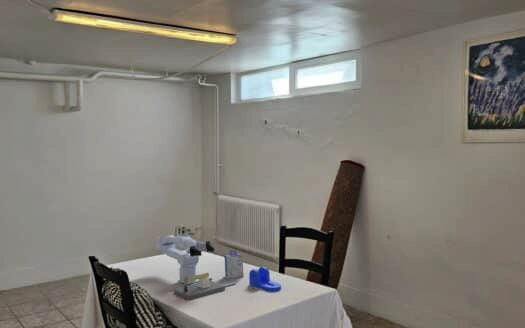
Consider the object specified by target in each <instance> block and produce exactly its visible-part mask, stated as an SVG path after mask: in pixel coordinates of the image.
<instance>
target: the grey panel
mask: <svg viewBox="0 0 525 328" xmlns="http://www.w3.org/2000/svg"><path fill="white" fill-rule="evenodd" d="M215 282H216V281H212V280H211V281H210V285H211V287H208V288H204V289H202V288H200V287H198V285H199V282H196V283H192V284H191V285H190V284H188V291H184V286H181V287H177V288H175V289H173V294H175V295H176V296H178V297H181V298H182V299H185V300H187V301H189V300H190V301H191V300H193V299H194V300H195V299H197V298H202V297H204V296H208V295H212V294H215V293H219V291H220V292H222V290H223V291H225V290H226V287H225V286H223V285H221V284H218V283H215Z"/></svg>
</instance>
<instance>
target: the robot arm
mask: <svg viewBox="0 0 525 328" xmlns="http://www.w3.org/2000/svg"><path fill="white" fill-rule="evenodd" d="M155 244H156V248H157V249H158V250H160V251H162V252H163V253H164V255H166V256H167V257H170V259H174V260H177V264H179V270H178V271H179V272H178V273H179V279H178V280H177V281H178V282H180V283H181V284H184V278H187V277H191V276H195V275H197V272H196V270H197V269H196V268H197V267H196V266H197V265H198V264H199V260H200V257H202V252H204V251H206V252H207V253H209V252H210V253H211V252H212V253H214V252H215V248H214V247H213V245H212V243H211V241H210V240H207V241H205V242H201V241H200V239H199V240H195V239H193V238H192V236H190V235H188V236H185V235H181V234H176V235H175V236H174V235H173V234H169V235H164V236H157V237H156V239H155ZM176 247H180V249H185V251H182V250H180V249H177V248H176ZM197 283H199V279H197V280H193V281H189V282H188V285H190V284H191V285H193V284H197Z"/></svg>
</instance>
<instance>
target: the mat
mask: <svg viewBox="0 0 525 328" xmlns="http://www.w3.org/2000/svg"><path fill="white" fill-rule="evenodd" d="M214 282H215V283H218V284H221V285H223V286H225V288H228V287H231V286H235V285H236V282H233V281H230V280H227V279H223V280H219V281H214Z"/></svg>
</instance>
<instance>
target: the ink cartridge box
mask: <svg viewBox="0 0 525 328" xmlns="http://www.w3.org/2000/svg"><path fill="white" fill-rule="evenodd" d="M223 259H224V274H225V275H224V276H226V277H227V278H226V279H233V278H239V277H244V255H243V254H242V253H237V251H236V250H235V249H233V250H229V254H227V255H224V258H223Z"/></svg>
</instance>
